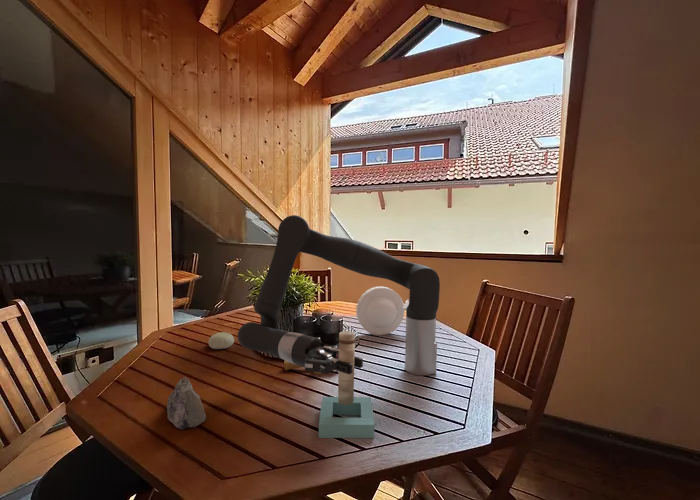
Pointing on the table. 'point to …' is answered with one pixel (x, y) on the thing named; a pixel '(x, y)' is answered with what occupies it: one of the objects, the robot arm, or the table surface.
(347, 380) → the beige banded cylinder
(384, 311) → the tracked sphere vehicle
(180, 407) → the mineral rock
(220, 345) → the sea urchin shell
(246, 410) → the table surface
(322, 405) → the teal square frame
